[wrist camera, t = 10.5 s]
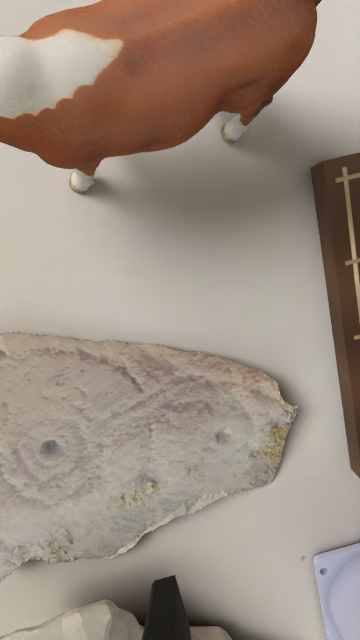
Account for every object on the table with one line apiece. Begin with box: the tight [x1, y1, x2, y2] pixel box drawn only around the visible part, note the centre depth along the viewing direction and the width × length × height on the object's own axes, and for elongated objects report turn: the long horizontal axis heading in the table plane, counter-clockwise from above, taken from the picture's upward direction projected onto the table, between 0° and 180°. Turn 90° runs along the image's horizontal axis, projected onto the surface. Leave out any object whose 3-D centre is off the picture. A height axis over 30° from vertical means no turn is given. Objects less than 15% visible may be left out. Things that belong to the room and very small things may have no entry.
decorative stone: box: [0, 332, 297, 582], centre depth 18 cm, size 20×14×1 cm
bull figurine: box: [0, 0, 321, 193], centre depth 11 cm, size 4×13×8 cm, turn 104°
